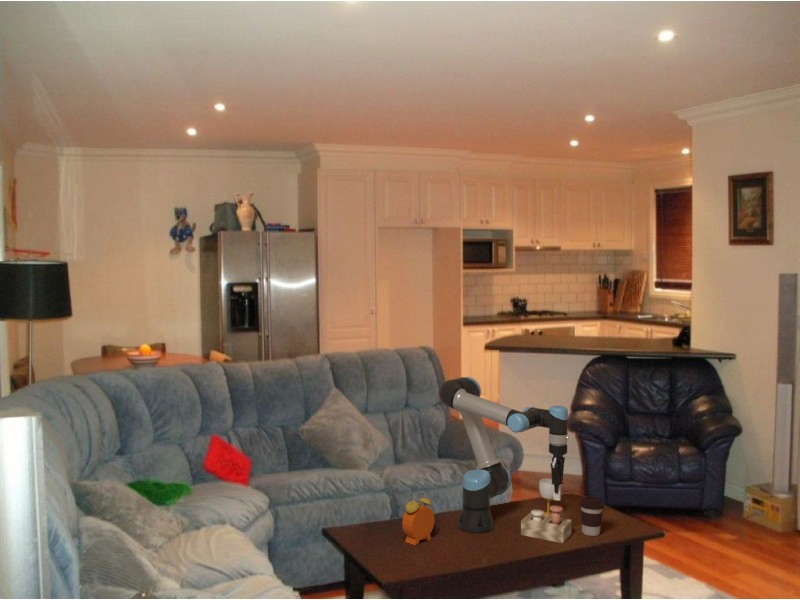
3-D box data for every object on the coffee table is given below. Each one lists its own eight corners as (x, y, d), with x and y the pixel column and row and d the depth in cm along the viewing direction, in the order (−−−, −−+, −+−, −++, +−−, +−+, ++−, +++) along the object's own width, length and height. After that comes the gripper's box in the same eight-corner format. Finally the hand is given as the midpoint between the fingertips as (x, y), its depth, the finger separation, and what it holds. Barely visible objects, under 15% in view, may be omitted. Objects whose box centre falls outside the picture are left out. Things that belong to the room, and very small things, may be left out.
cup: (560, 520, 330) (561, 484, 329) (539, 519, 330) (540, 483, 329) (556, 513, 339) (557, 478, 338) (536, 512, 339) (537, 477, 338)
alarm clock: (423, 534, 310) (424, 487, 309) (434, 538, 305) (435, 490, 304) (401, 542, 301) (401, 494, 299) (411, 547, 296) (412, 497, 295)
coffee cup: (603, 538, 309) (604, 503, 308) (579, 536, 311) (580, 501, 310) (602, 530, 318) (603, 495, 317) (578, 528, 320) (579, 493, 319)
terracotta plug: (547, 527, 309) (548, 508, 309) (551, 523, 314) (552, 504, 313) (560, 529, 307) (560, 510, 306) (563, 526, 311) (564, 506, 311)
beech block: (520, 534, 311) (521, 520, 311) (530, 525, 322) (530, 512, 322) (563, 543, 303) (563, 528, 303) (571, 533, 313) (571, 519, 313)
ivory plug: (529, 531, 313) (529, 512, 313) (533, 527, 318) (533, 508, 317) (540, 533, 311) (541, 514, 310) (544, 529, 315) (545, 510, 315)
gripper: (562, 448, 301) (561, 505, 302) (571, 441, 312) (570, 496, 313) (544, 445, 304) (543, 502, 305) (553, 439, 316) (553, 494, 317)
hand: (557, 499), depth 309 cm, fingers closed
